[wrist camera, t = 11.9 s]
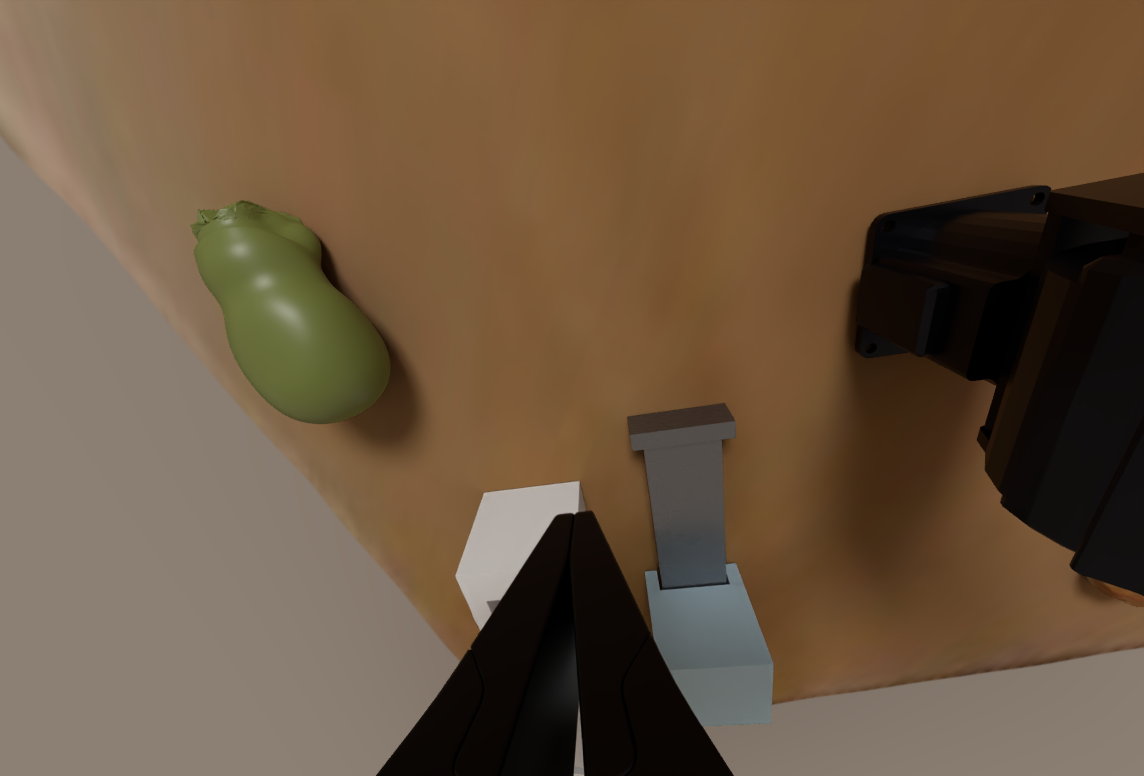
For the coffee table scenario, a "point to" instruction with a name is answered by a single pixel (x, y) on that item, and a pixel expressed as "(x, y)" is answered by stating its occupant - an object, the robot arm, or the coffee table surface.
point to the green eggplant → (288, 315)
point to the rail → (686, 491)
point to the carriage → (714, 649)
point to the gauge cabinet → (508, 539)
